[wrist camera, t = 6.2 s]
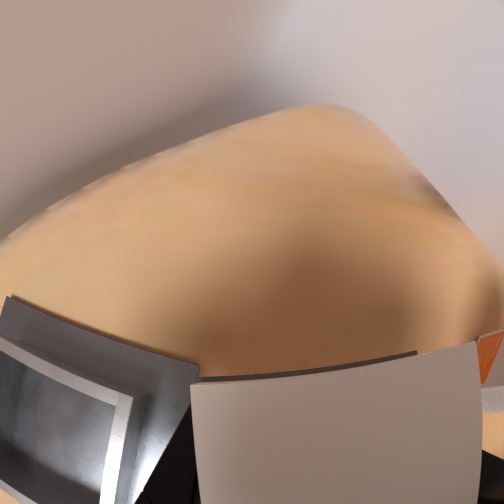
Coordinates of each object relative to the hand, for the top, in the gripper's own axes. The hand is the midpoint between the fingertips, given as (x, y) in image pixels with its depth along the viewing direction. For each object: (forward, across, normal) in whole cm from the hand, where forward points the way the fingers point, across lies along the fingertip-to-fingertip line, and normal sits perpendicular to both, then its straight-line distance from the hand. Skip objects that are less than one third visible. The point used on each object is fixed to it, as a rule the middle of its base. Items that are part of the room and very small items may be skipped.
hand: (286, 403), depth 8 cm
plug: (+4, 0, +6) cm, 7 cm away
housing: (+5, +13, +10) cm, 17 cm away
